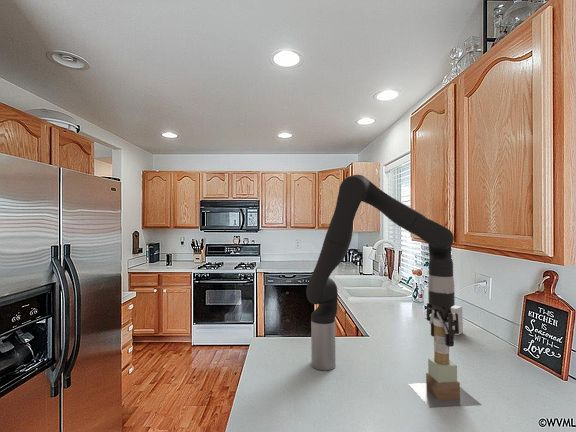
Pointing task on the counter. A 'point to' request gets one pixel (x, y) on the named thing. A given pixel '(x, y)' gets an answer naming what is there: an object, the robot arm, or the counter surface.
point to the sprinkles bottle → (440, 343)
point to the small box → (460, 317)
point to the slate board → (433, 402)
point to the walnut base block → (443, 389)
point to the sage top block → (442, 371)
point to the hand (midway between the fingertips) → (441, 340)
